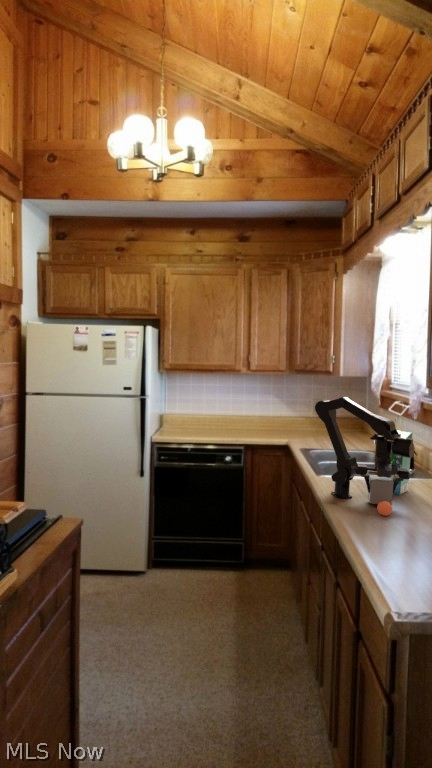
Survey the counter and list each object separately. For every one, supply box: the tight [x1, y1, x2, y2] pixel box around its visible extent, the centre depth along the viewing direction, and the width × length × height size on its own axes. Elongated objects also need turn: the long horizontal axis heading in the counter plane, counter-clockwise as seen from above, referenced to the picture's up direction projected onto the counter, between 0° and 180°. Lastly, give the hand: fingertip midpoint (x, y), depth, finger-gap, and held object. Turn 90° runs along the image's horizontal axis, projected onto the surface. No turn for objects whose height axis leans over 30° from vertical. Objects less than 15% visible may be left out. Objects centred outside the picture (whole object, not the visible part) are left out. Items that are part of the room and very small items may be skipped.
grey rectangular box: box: [367, 473, 394, 507], centre depth 172 cm, size 8×8×9 cm
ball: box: [376, 501, 393, 517], centre depth 162 cm, size 5×5×5 cm
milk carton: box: [391, 429, 413, 496], centre depth 193 cm, size 9×9×25 cm
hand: (380, 493), depth 172 cm, fingers closed on grey rectangular box, 8 cm apart
